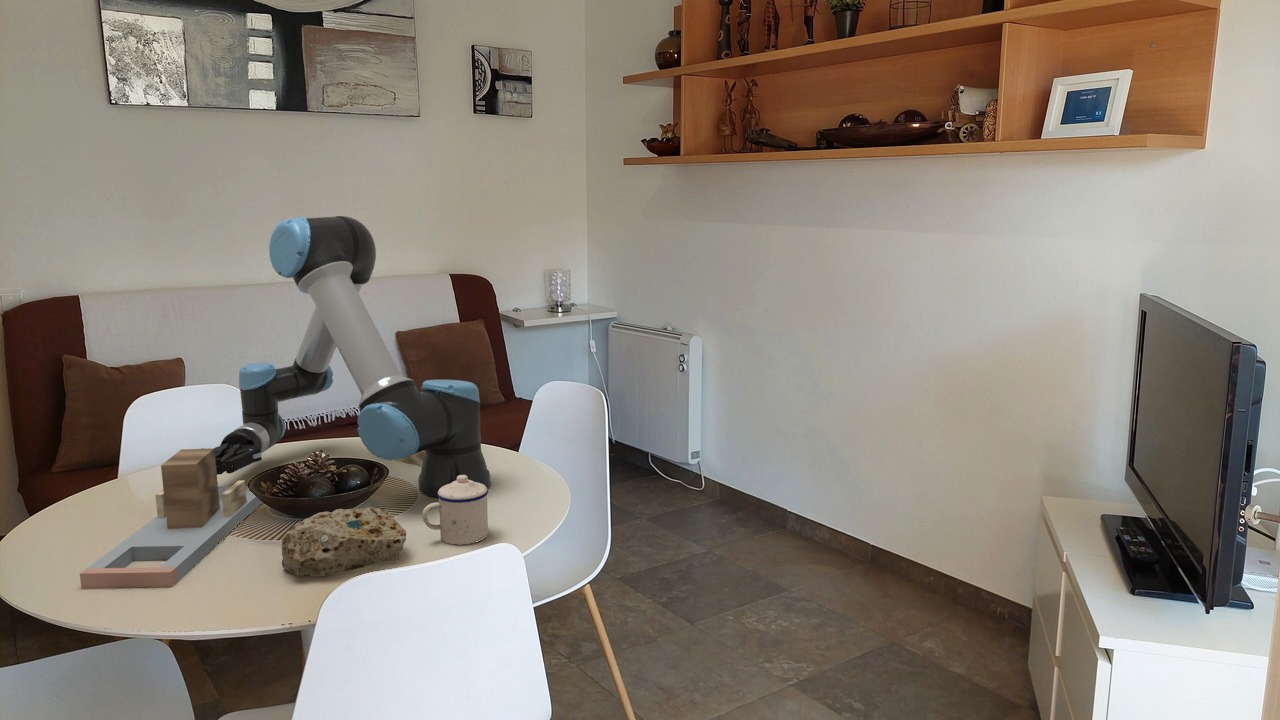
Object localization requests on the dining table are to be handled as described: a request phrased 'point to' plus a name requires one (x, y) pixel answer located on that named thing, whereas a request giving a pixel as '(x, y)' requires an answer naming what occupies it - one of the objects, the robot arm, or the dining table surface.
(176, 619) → the dining table surface
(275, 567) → the dining table surface
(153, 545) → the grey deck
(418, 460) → the oak coaster frame
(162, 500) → the beech tunnel walls
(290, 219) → the robot arm
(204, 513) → the walnut block
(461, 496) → the teacup with lid
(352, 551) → the rock
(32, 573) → the dining table surface
